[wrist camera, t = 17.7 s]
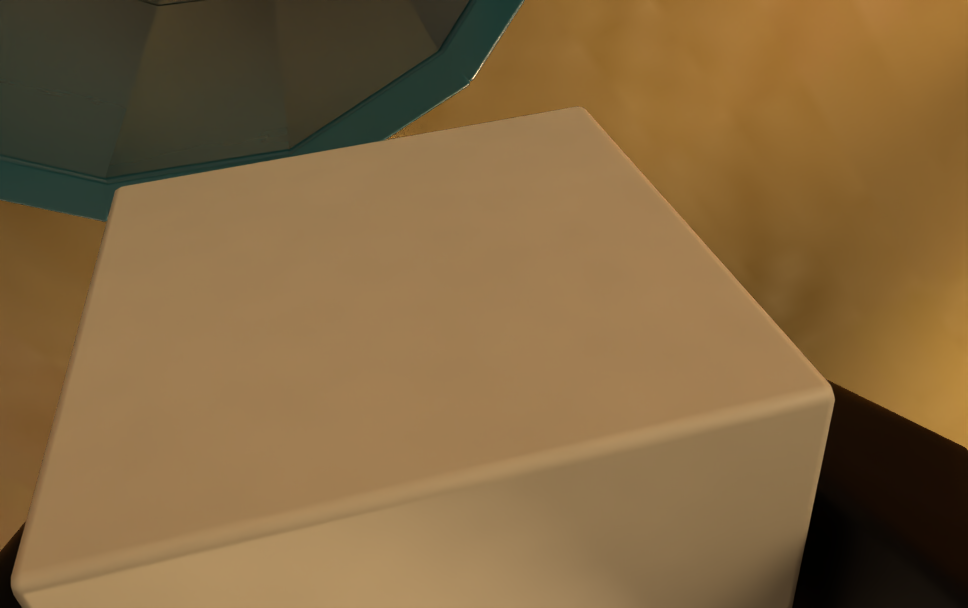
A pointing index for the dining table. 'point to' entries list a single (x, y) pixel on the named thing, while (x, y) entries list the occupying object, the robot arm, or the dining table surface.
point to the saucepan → (216, 84)
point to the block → (423, 392)
